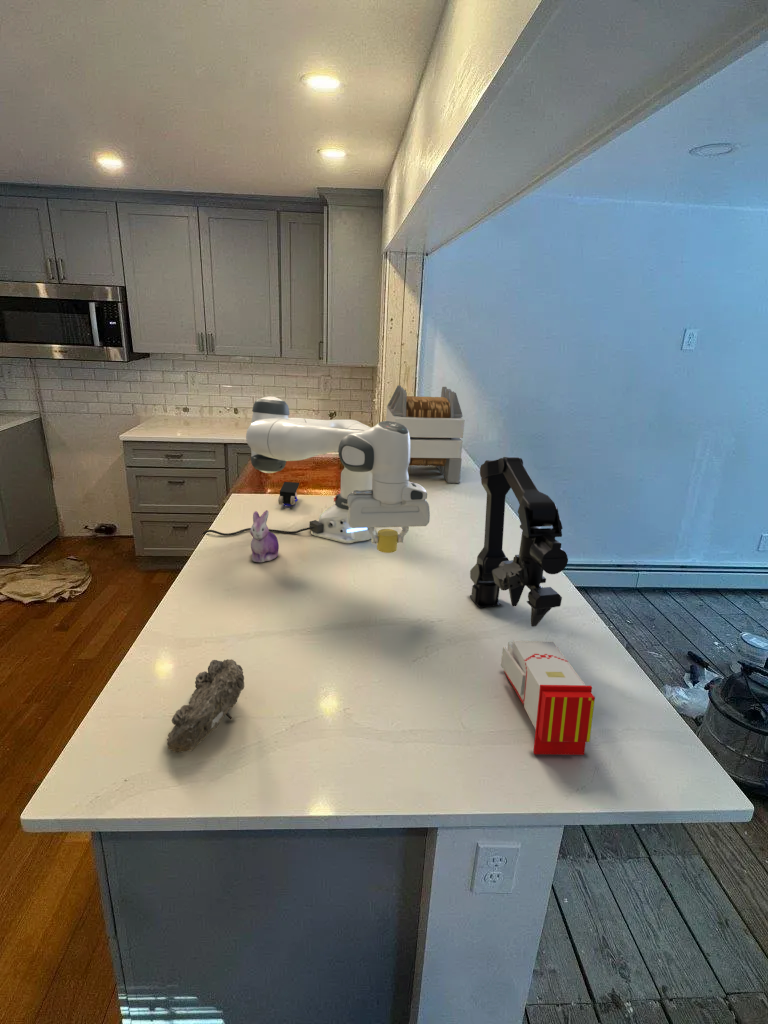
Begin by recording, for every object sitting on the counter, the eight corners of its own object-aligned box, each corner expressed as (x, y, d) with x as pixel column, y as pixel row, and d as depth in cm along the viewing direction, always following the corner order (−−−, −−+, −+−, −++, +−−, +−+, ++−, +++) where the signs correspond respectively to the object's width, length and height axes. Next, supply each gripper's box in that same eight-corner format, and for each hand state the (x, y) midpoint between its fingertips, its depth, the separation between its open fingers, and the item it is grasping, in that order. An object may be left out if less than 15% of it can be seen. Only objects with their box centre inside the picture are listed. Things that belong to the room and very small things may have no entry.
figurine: (254, 565, 170) (252, 519, 165) (245, 552, 179) (243, 508, 174) (284, 560, 175) (283, 515, 169) (274, 548, 183) (273, 504, 178)
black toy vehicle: (295, 514, 218) (300, 497, 231) (295, 496, 214) (299, 480, 228) (278, 513, 217) (283, 497, 231) (277, 495, 214) (283, 480, 227)
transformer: (382, 463, 289) (386, 382, 275) (445, 464, 293) (451, 384, 279) (390, 482, 257) (394, 392, 243) (460, 483, 261) (468, 394, 247)
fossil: (192, 660, 117) (244, 628, 112) (224, 691, 120) (276, 661, 115) (142, 746, 98) (202, 712, 93) (182, 779, 101) (242, 748, 96)
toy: (549, 624, 127) (604, 693, 98) (544, 678, 130) (596, 762, 100) (496, 622, 127) (535, 692, 97) (491, 677, 129) (528, 761, 100)
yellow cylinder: (398, 552, 140) (399, 536, 139) (378, 553, 140) (379, 536, 138) (395, 544, 145) (395, 528, 143) (375, 545, 144) (376, 529, 143)
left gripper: (349, 494, 132) (347, 548, 137) (433, 493, 136) (429, 546, 141) (345, 486, 138) (344, 538, 143) (427, 485, 142) (423, 536, 147)
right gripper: (481, 540, 132) (474, 599, 138) (520, 575, 115) (511, 641, 121) (524, 537, 135) (516, 595, 141) (568, 571, 118) (557, 635, 124)
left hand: (387, 542), depth 142 cm, fingers closed on yellow cylinder, 5 cm apart
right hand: (523, 615), depth 131 cm, fingers open, 9 cm apart
